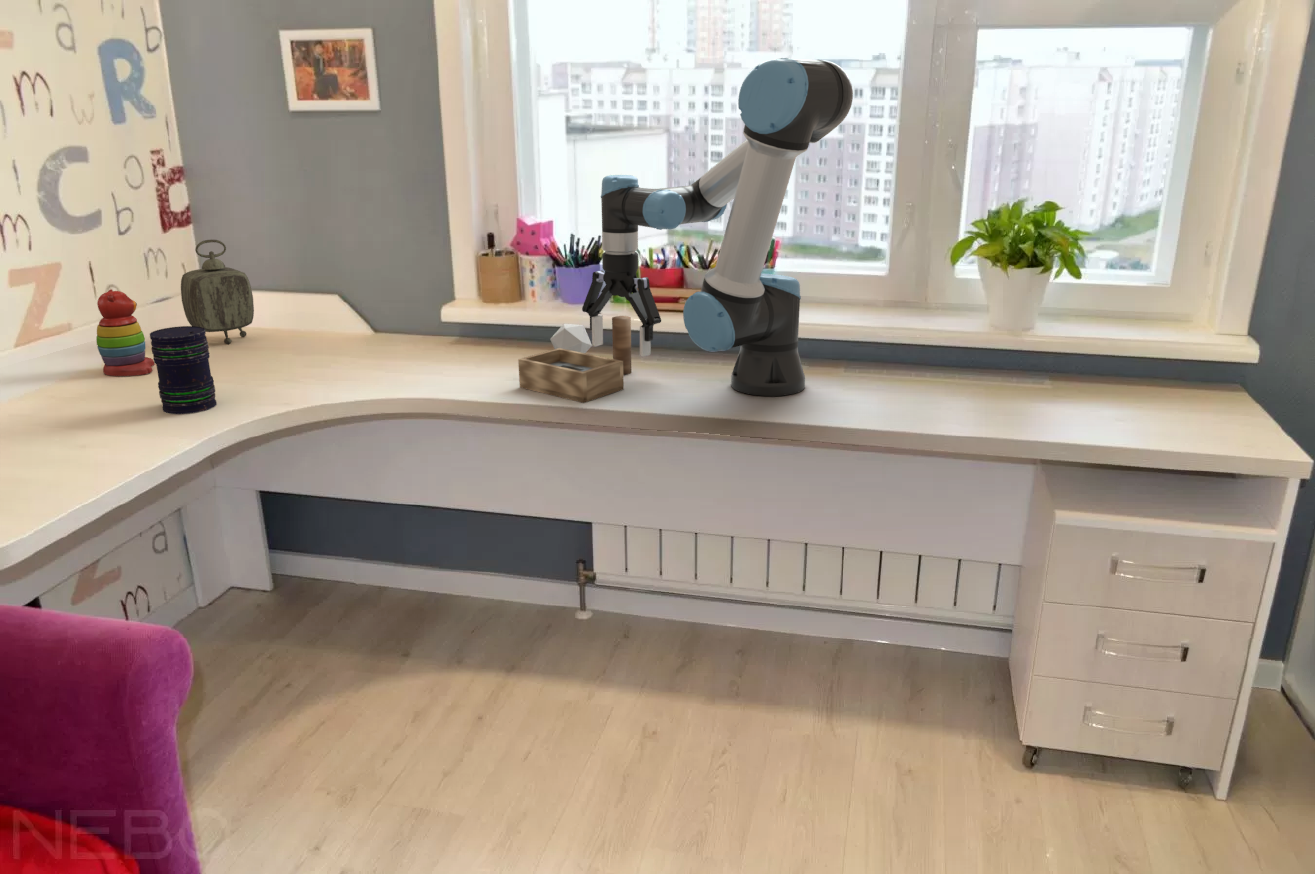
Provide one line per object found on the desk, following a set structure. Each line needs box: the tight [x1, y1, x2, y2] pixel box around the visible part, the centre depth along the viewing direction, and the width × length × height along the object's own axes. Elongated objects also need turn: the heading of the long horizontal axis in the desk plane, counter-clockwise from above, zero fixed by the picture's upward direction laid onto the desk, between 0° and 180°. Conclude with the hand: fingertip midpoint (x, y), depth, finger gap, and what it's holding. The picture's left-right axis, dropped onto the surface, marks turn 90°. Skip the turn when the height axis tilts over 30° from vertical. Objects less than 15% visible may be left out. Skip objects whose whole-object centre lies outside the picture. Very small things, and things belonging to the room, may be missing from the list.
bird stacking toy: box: [96, 288, 155, 377], centre depth 217 cm, size 11×10×18 cm
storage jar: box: [149, 325, 218, 415], centre depth 192 cm, size 10×10×15 cm
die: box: [550, 323, 593, 354], centre depth 227 cm, size 8×9×10 cm
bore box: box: [517, 348, 625, 404], centre depth 204 cm, size 18×12×6 cm, turn 51°
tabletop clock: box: [180, 239, 255, 345], centre depth 241 cm, size 14×9×25 cm, turn 130°
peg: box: [611, 315, 632, 376], centre depth 215 cm, size 4×4×12 cm
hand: (621, 350), depth 215 cm, fingers open, 13 cm apart
